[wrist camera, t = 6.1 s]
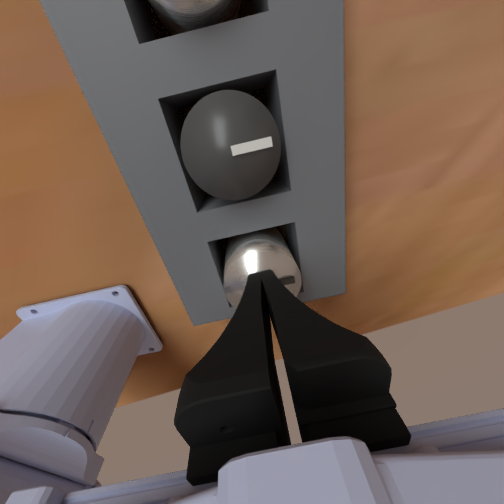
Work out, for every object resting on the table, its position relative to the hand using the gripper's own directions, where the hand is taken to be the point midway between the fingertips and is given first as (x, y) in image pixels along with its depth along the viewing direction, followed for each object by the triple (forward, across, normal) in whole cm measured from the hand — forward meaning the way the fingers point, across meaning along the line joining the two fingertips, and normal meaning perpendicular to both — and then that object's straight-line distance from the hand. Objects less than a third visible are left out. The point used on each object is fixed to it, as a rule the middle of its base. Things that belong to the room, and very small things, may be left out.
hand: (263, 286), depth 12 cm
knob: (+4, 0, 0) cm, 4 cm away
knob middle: (+5, 0, -7) cm, 9 cm away
